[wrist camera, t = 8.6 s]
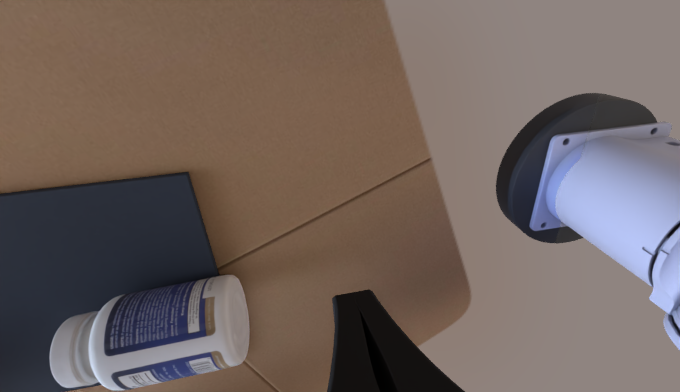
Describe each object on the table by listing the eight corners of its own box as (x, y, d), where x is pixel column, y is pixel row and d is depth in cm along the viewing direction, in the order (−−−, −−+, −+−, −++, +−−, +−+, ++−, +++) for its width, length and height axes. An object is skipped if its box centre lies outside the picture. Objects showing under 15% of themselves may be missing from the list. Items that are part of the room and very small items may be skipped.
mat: (188, 171, 19) (186, 174, 19) (243, 355, 27) (242, 359, 27) (-224, 219, 17) (-235, 224, 17) (-37, 405, 25) (-41, 411, 24)
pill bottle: (240, 263, 23) (92, 291, 22) (222, 289, 18) (27, 327, 17) (255, 337, 24) (110, 367, 23) (241, 384, 18) (52, 426, 18)
